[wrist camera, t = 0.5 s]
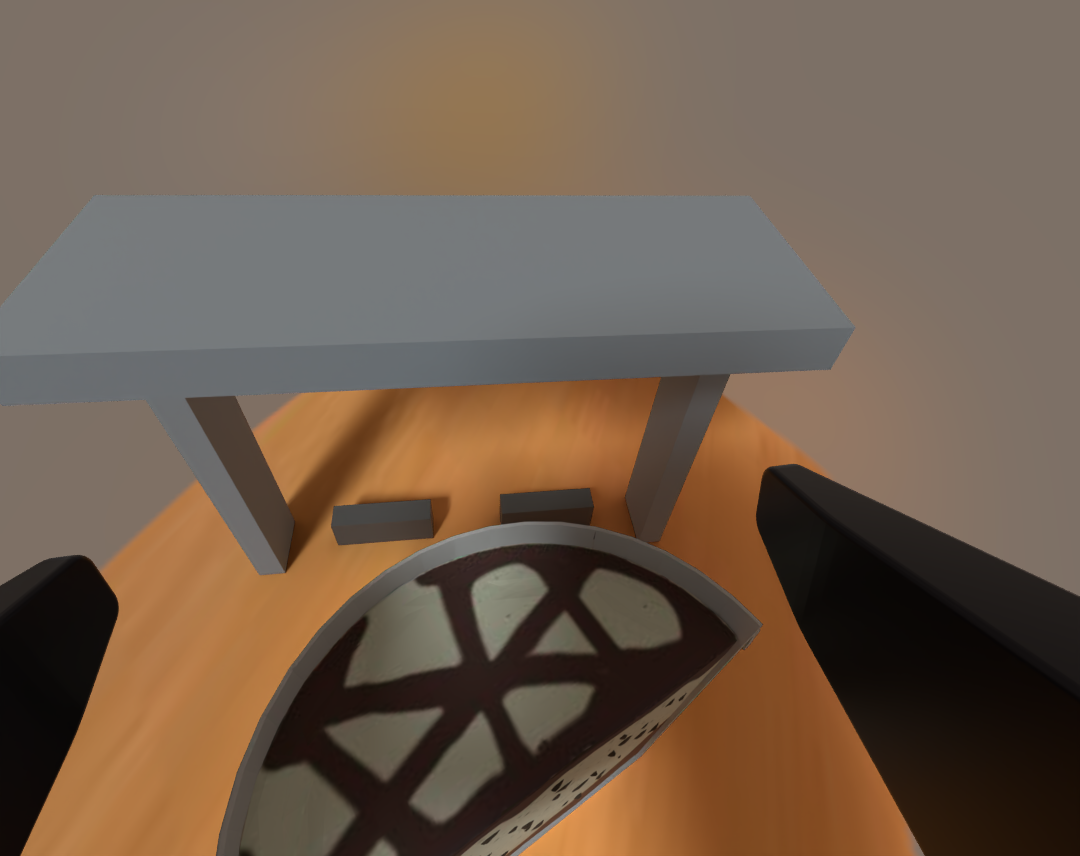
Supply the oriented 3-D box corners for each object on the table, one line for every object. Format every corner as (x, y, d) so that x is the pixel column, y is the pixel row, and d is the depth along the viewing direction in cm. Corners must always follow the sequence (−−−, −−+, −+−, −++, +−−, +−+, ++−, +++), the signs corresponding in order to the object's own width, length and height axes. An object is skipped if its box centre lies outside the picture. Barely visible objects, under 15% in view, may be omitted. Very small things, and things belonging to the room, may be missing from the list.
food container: (572, 592, 23) (610, 434, 16) (673, 731, 20) (779, 611, 13) (266, 779, 18) (111, 675, 11) (333, 1005, 15) (176, 1076, 8)
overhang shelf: (682, 616, 23) (855, 327, 12) (240, 662, 21) (-43, 357, 10) (645, 495, 27) (749, 195, 16) (271, 522, 25) (94, 195, 14)
